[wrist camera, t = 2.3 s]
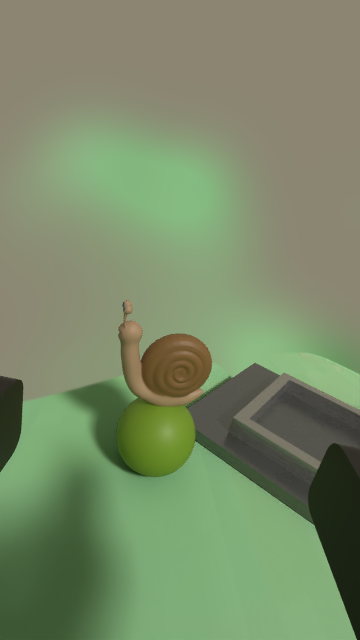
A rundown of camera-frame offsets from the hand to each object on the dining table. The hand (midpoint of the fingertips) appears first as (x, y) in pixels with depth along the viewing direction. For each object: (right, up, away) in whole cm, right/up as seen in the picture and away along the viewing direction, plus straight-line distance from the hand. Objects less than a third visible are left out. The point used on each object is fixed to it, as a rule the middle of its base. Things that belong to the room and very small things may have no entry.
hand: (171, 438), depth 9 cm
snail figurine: (-3, -7, +15) cm, 17 cm away
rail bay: (+12, -8, +21) cm, 26 cm away
